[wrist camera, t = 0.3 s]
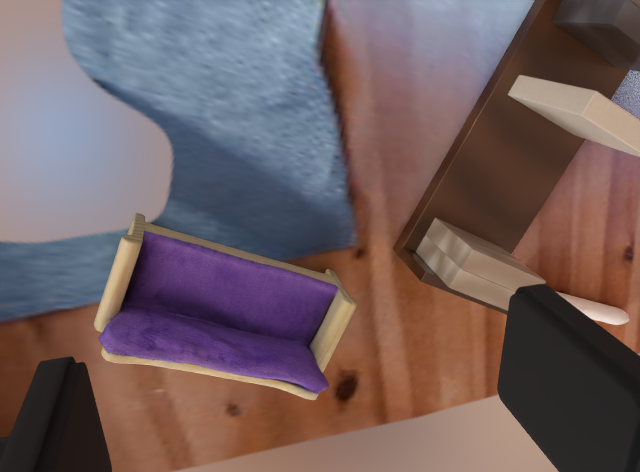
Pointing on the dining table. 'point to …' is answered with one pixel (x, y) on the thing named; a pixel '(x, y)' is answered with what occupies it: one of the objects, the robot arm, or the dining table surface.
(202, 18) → the dining table surface
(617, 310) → the beige rod
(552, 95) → the beige book
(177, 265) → the toy sofa
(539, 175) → the book rack
